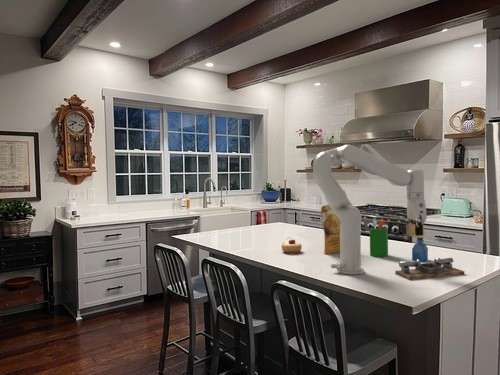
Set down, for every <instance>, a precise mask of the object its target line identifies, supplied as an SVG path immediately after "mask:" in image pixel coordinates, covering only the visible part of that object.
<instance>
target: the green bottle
mask: <svg viewBox="0 0 500 375" xmlns="http://www.w3.org/2000/svg"><path fill="white" fill-rule="evenodd" d="M386 222H387V221H386V220H379V222H378V224H377V225H378V227H377V228H372V227H370V228H369V256H370V257H375V258H386V257H388V256H389V230H388V229H389V228H388V226H387V227H386V226H385V225H386V224H387V223H386Z"/></svg>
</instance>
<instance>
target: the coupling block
mask: <svg viewBox="0 0 500 375" xmlns="http://www.w3.org/2000/svg"><path fill="white" fill-rule="evenodd" d="M418 223H419V222H418ZM407 226H408V227H407V228H408V236H409V237H412V238H417V237H422V238H424V237H425V225H424V226H423V235H420V236H417V235H416V227H417V226H416V222H411V223H409V222H408V225H407Z"/></svg>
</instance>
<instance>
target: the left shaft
mask: <svg viewBox="0 0 500 375" xmlns="http://www.w3.org/2000/svg"><path fill="white" fill-rule="evenodd" d="M421 264H422V262H421V261H420V260H416V261H413V260H411V261H399V262H398V267H399V268H400V270H401V271H402V272H404V273H410V269H411V268H412V267H414V268H415V267H416V268H421Z"/></svg>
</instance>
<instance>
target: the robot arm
mask: <svg viewBox="0 0 500 375" xmlns="http://www.w3.org/2000/svg"><path fill="white" fill-rule="evenodd" d="M346 163H347V164H349V165H351V166H352V167H355V168H357V169H358V170H361V171H362V172H365V173H366V174H367V173H368V174H369V175H373V176H377V177H380V178H383V179H385V180H387V181H388V182H389V184H391V185H393V186H396V187H405V186H406V218H407V220H408V223H411V222H416V226H417V227H416V235H417V236H420V235H423V226H424V227H425V223H426V221H427V219H428V218H427V216H428V215H427V206H426V200H425V175H424V170H422V169H408V170H407V169H404V168H402V167H400V166H398V165H396V164H393V163H392V162H389V161H387V160H384V159H382V158H381V157H378V156H376V155H373V154H371V153H369V152H367V151H366V150H363V149H362V148H359V147H357V146H355V145H353V144H344V145H342V146H340V147H335V148H332V149H330V150H329V149H328V150H326V151H325V150H324V151H321V152H319V153H317V154H316V156H315V157H314V162H313V167H312V168H313V169H312V174H313V178H314V181H315V183H316V184H317V186H318V187H319V189H320V190H321V193H322V194H323V195H324V199H325V201H326V203H327V205H329V206H330V207H331V209H332V210H333V211H334V213H335V214H336V216H337V217H338V218H339V219H340V252H339V253H340V254H339V256H340V257H339V259H340V260H339V261H337V263H336V264H335V263H331V264H330V268H331V269H336V272H338V273H340V274H342V275H343V274H345V275H348V276H349V275H356V276H357V275H361V274H364V273H365V269H364V268H363V267H362V264H361V260H362V258H361V256H362V253H361V252H362V247H361V246H362V245H361V243H362V239H361V236H362V235H361V234H362V233H361V232H362V221H363V220H362V214H361V211H360V209H359V208H358V207H356V206H354V205H353V204H352V202H351V201H350V200H349V198H348V197H347V196H348V195H347V193H346V191H345V189H343V187H342V186H341V185H340V184H339V182H338V181H337V179H336V178H335V176H334V175H333V172H332V168H334V167H337V166H339V165H343V164H346ZM418 222H419V223H418Z"/></svg>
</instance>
